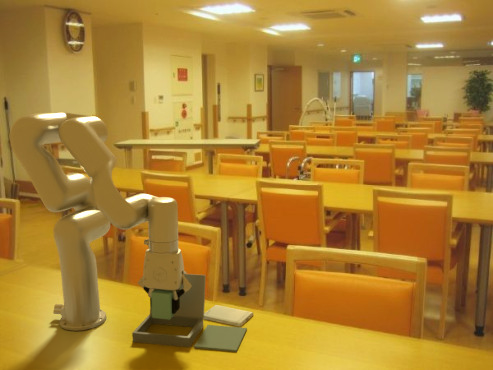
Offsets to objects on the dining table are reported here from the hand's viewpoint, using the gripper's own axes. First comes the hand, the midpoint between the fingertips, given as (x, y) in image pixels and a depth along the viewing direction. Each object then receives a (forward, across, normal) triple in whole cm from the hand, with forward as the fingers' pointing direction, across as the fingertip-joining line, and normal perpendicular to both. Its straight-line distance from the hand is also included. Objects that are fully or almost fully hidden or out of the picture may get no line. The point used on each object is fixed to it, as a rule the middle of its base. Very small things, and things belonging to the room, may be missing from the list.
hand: (165, 310), depth 135 cm
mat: (+6, +16, 0) cm, 17 cm away
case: (+7, +1, 0) cm, 7 cm away
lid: (-2, +1, +7) cm, 7 cm away
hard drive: (+7, +14, +13) cm, 20 cm away
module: (+1, 0, 0) cm, 1 cm away
